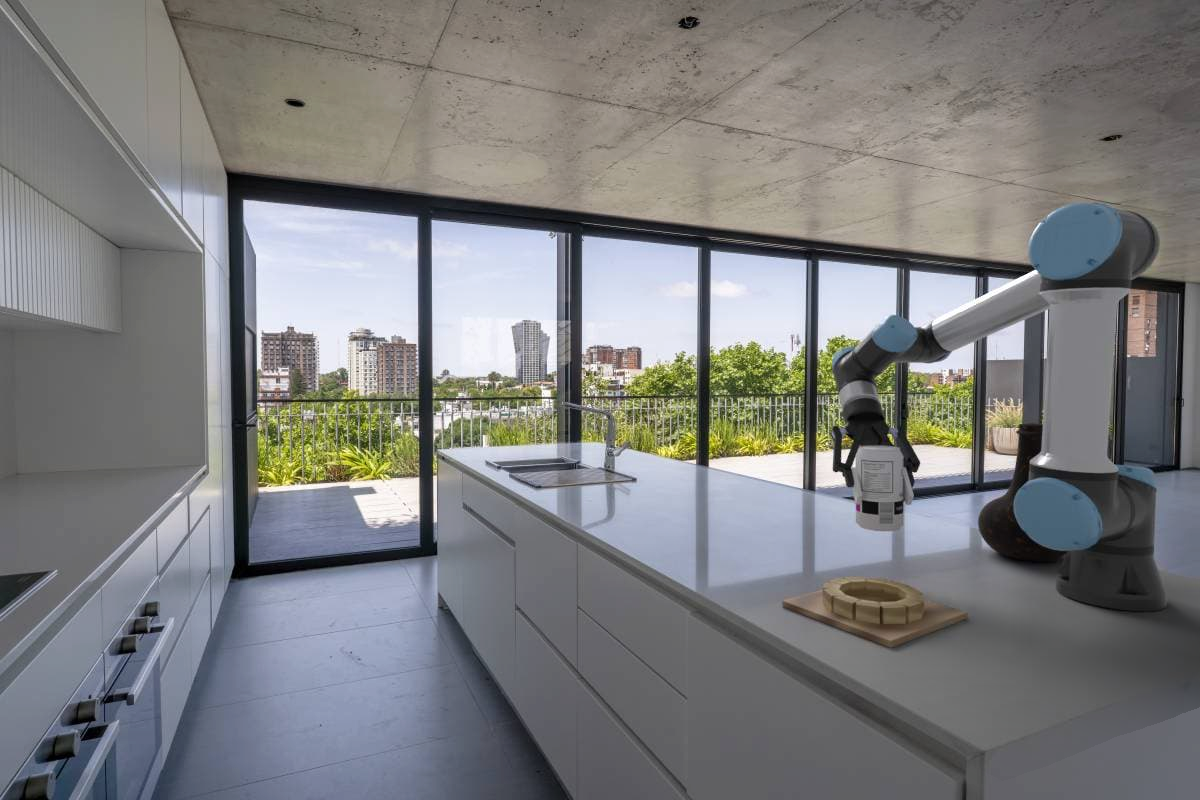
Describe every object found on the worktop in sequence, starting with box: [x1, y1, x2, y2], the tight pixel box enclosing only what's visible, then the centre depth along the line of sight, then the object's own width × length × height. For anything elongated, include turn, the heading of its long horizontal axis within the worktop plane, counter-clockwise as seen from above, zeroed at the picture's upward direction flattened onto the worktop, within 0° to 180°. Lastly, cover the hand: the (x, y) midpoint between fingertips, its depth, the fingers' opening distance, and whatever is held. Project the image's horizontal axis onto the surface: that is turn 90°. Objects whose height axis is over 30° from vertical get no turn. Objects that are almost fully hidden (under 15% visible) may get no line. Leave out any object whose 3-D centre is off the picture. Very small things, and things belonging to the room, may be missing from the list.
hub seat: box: [781, 576, 968, 649], centre depth 108 cm, size 20×20×4 cm
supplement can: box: [855, 445, 904, 532], centre depth 124 cm, size 8×8×15 cm
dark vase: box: [977, 422, 1067, 563], centre depth 139 cm, size 18×18×28 cm
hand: (884, 500), depth 121 cm, fingers closed on supplement can, 8 cm apart
